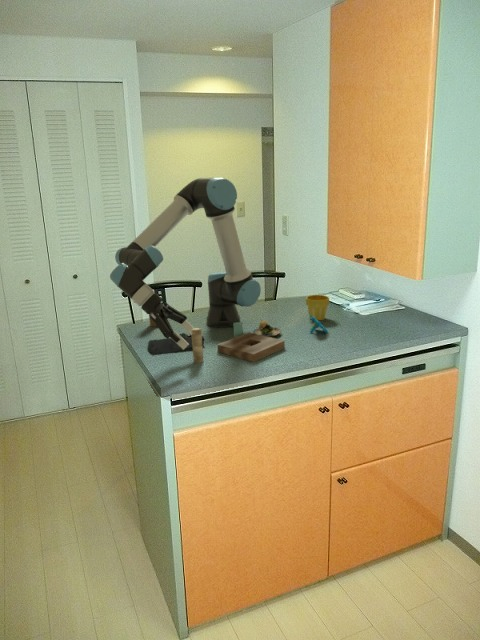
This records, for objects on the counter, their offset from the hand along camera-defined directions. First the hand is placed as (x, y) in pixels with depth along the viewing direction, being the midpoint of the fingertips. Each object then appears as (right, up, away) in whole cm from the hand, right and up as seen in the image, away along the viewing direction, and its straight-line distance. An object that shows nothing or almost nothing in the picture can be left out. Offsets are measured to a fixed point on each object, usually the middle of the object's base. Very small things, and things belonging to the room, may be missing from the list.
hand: (191, 340), depth 184 cm
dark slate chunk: (-8, -4, +20) cm, 21 cm away
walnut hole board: (+22, -4, +11) cm, 25 cm away
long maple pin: (+2, -8, +3) cm, 8 cm away
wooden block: (-20, +5, +48) cm, 52 cm away
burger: (+29, +1, +29) cm, 41 cm away
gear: (+50, +2, +29) cm, 58 cm away
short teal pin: (+17, -1, +24) cm, 29 cm away
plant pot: (+52, +8, +48) cm, 71 cm away
